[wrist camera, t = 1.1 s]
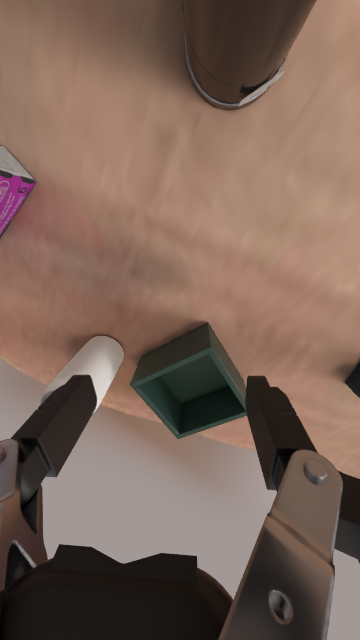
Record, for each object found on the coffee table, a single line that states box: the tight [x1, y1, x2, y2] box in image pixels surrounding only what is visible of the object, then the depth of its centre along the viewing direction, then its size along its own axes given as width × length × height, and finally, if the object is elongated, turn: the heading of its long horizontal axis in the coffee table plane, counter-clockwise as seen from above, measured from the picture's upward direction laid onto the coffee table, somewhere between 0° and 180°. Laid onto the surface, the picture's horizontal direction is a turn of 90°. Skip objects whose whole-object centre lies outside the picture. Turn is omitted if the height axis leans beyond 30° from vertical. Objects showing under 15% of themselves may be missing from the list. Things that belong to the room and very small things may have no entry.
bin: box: [130, 323, 247, 439], centre depth 31 cm, size 13×13×7 cm
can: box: [41, 336, 124, 413], centre depth 29 cm, size 6×6×12 cm
